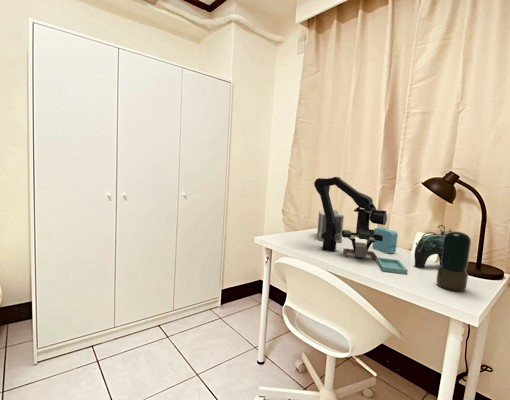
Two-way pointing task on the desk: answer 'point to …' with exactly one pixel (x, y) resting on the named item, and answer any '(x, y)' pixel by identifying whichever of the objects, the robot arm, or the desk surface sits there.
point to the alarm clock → (322, 224)
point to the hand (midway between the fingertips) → (360, 252)
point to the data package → (386, 240)
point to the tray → (391, 265)
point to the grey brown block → (360, 249)
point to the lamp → (454, 261)
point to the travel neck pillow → (429, 247)
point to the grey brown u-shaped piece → (354, 253)
